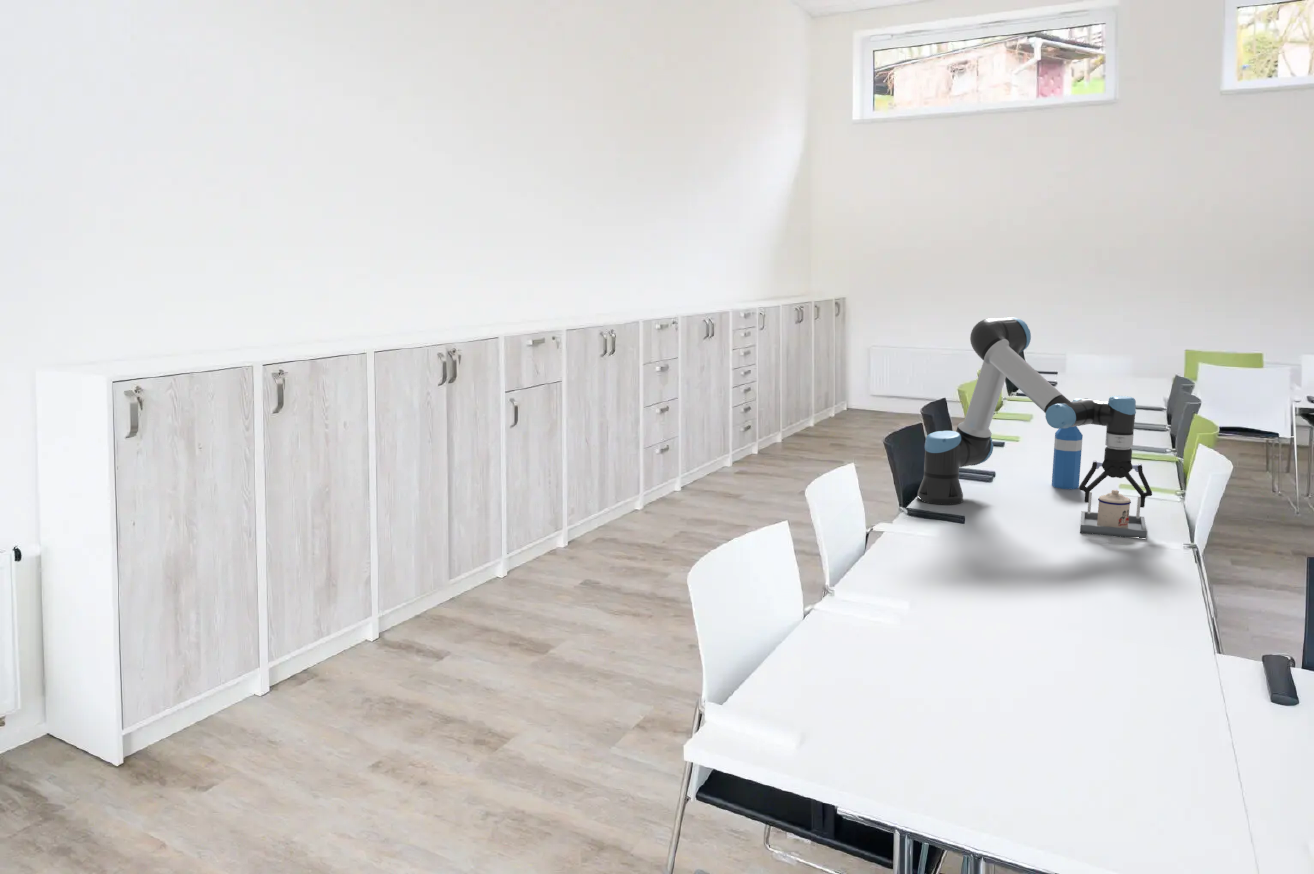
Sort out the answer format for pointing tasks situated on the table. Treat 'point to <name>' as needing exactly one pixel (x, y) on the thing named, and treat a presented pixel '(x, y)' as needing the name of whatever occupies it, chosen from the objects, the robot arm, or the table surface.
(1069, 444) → the water bottle
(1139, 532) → the tray
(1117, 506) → the teacup with lid
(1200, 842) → the table surface
